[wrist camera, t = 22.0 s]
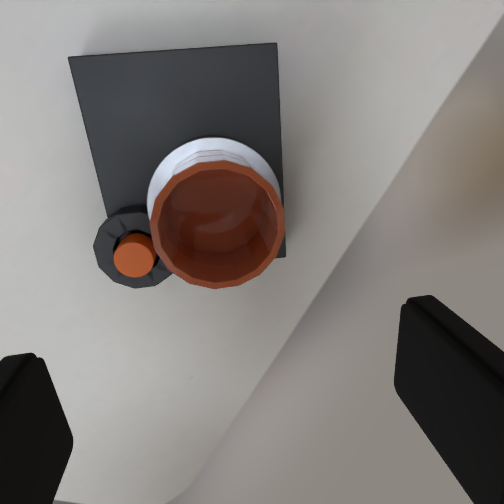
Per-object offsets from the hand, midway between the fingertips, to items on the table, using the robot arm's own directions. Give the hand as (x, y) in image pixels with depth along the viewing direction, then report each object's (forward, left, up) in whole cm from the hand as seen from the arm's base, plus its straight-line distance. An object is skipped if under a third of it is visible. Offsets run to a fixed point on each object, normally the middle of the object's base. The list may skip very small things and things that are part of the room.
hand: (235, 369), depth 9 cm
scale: (+3, +1, -18) cm, 18 cm away
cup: (+1, 0, -14) cm, 14 cm away
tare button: (-2, +5, -15) cm, 16 cm away
